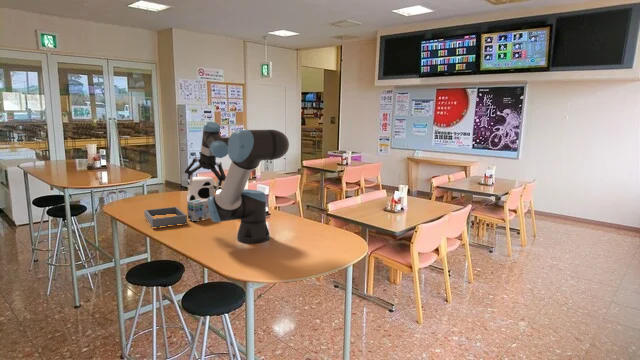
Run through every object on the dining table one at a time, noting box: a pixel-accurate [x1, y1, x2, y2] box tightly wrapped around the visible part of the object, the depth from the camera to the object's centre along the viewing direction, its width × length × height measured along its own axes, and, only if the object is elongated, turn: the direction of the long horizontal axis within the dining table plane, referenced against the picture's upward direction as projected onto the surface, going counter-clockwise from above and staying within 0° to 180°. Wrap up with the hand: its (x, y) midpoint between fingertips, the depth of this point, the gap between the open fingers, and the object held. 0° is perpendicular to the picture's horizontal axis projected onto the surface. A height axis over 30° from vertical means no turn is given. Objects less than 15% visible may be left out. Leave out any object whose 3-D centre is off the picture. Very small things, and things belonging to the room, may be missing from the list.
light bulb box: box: [186, 198, 211, 222], centre depth 214 cm, size 11×7×11 cm, turn 143°
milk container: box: [186, 176, 216, 202], centre depth 243 cm, size 17×17×18 cm
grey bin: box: [143, 206, 188, 228], centre depth 209 cm, size 22×17×5 cm
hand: (204, 187), depth 200 cm, fingers open, 13 cm apart
